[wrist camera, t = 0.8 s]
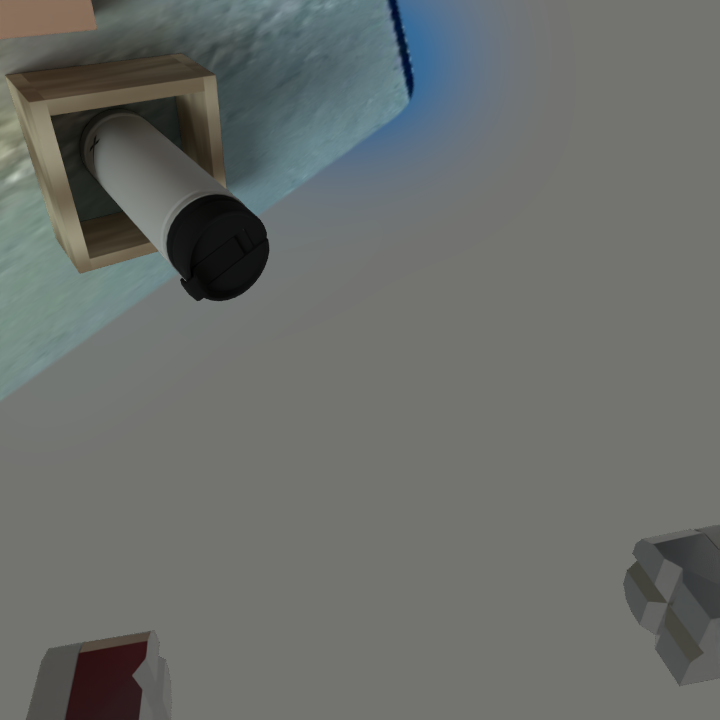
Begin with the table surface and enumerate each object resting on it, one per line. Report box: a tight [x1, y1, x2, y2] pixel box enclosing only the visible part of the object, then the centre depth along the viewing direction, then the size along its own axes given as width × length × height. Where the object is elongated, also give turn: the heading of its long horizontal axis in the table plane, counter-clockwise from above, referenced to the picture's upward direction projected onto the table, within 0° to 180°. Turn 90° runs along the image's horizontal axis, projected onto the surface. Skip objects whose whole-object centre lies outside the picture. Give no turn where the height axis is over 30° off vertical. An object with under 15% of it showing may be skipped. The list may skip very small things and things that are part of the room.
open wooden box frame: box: [5, 53, 226, 273], centre depth 48 cm, size 13×13×6 cm
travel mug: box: [80, 109, 269, 301], centre depth 44 cm, size 6×7×20 cm
